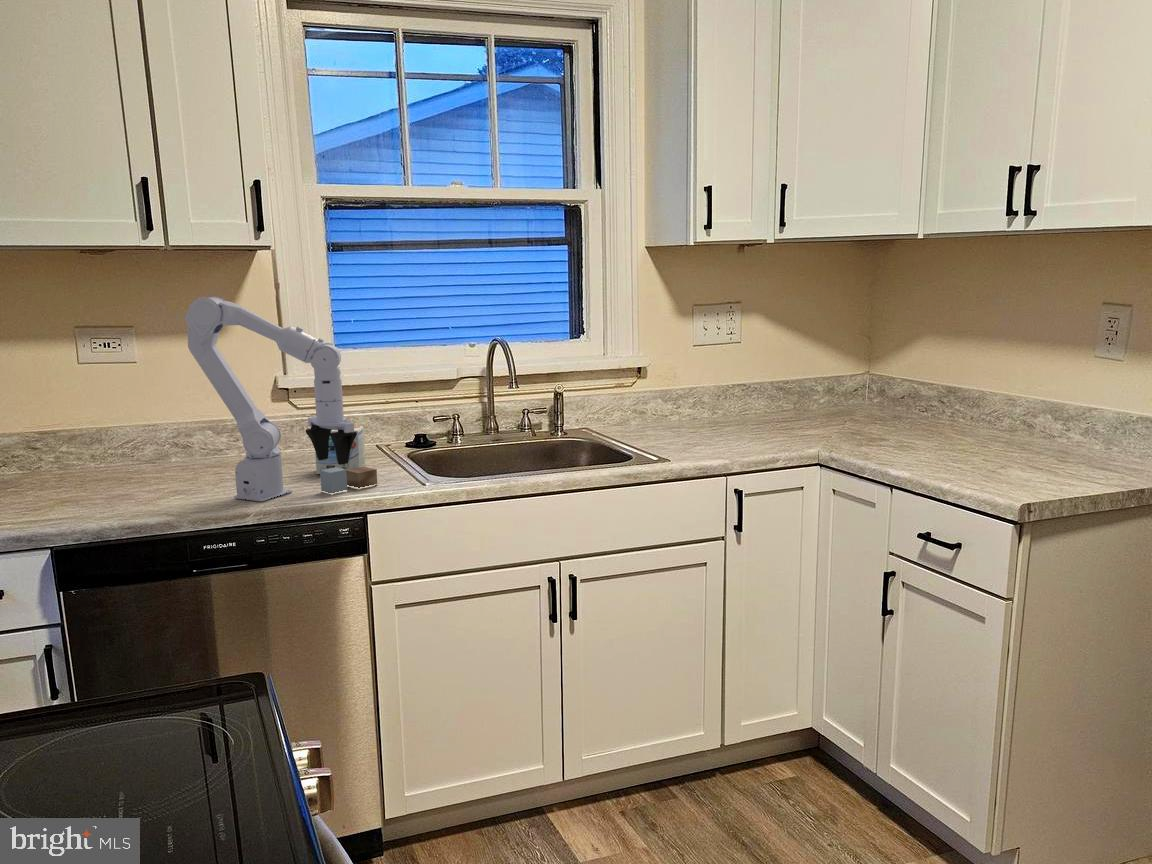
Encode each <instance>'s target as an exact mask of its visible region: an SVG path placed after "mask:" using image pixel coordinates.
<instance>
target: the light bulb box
mask: <svg viewBox="0 0 1152 864" xmlns="http://www.w3.org/2000/svg"><path fill="white" fill-rule="evenodd" d="M354 431H356V432H357V435H356V437H355V439H354V441H353V444H352V446H351V450H350V455H349V460H348V463H347V464H342V465H339V464H338V462H337V457H336V450H335V446H334V443H333V441H332V438H331V436H330V437H329V453H328V459H324V460H318V458H317V455H316V452H315V451H314V452H315V453H314V454H315V469H316V475H317V474H320V470H324V469H330V468H335V467H337V468H341V469H345V470H348V469H353V468H357V467H362V466H364V467H366V454H365V451H366V450H365V432H364V431H365V430H364V425H359V426H358V425H357V426H355V425H354ZM335 432H338V430H331V433H335Z"/></svg>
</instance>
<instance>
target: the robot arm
mask: <svg viewBox="0 0 1152 864" xmlns="http://www.w3.org/2000/svg"><path fill="white" fill-rule="evenodd" d="M185 322H186V325H187V326H186V329H187V332H186V333H187V349H188V350H189V352H190V354H191V355H192V356H193V358H194V359H195V361H196V362H197V364H198V366H199V367H200V368H201V370H202V371H203V373H204V375H205V376H206V377H207V380H209V383H211V385H212V386H213V388H214V390H215V391H216V392H217V394H218V396H219V397H220V399H221V400H222V402H223V403H224V404H225V406H226V408H227V409H228V411H229V412H230V413H231V415H232V417H233V418H234V420H235V423H236V427H237V430H238V432H239V434H240V436H241V438H242V445H243V448H244V450H245V457H244V459H242V460H240V461H239V462H237V464H236V465H235V471H234V474H235V487H236V495H234V497H233V498H234V499H238V500H239V499H240V500H245V499H246V500H247V501H255V502H265V501H268V500H271V498H272V499H275V498H277V496H278V497H281V496H285V495H286V493H287V494H289V493H293V489H289V488H284V479H283V465H282V451H281V450H280V449H279V447H278V445H279V442H280V441H281V437H282V434H281V430H280V428H279V426H278V425H277V424H275V423H274V422H272V421H270V420H269V419H268V418H267V416H266V414H265V413H263V411H262V410H260V409H259V408H258V407H257V405H255V403H254V401H253V400H252V398H251V396H250V394H248V392H247V391H246V389H245V388H244V386H243V384H242V383H241V381H240V380H239V378H238V377H237V375H236V374H235V372H234V371H233V369H232V368H231V366H230V365H229V363H228V361H227V360H226V358H225V357H224V356H223V353H222V352H221V351H220V350H219V347H218V346H217V343H218V339H219V337H220V333H221V331H222V329H223V327H225V326H227V327H228V326H241V327H243V328H245V329H247V330H250V331H252V332H254V333H256V334H258V335H260V336H262V337H265V338H267V339H270V340H271V341H274V342H275V343H276V344H277V347H278V350H279V351H280V352H282V353H285V354H286V355H289V356H291V357H293V358H295V359H297V360H299V361H301V362H302V363H305V364H309V363H310V365H311V366H312V368H313V372H314V380H313V385H314V398H315V399H314V400H315V401H314V402H315V403H314V404H315V416H310V417H307V426H308V427H310V428H308V429H305V433H306V435H307V436H308V438H309V439H310V441H311V444H312V446H313V448H314V452H316V453H315V456H316V455H317V458H318V460H324V459H328V453H329V437H330V436H331V438H332V441H333V443H334V446H335V450H336V457H337V462H338V464H339V465H342V464H347V463H348V460H349V455H350V450H351V446H352V444H353V441H354V439H355V437H356V435H357V432H356V431H354V426H355V422H351V421H349V419H348V418H347V417H344V401H343V399H344V398H343V386H342V384H343V383H342V378H341V374H342V373H341V369H340V368H341V367H340V366H339V365H340V364H341V361H342V353H341V351H340V350H339V349H338V347H336V346H335V345H334V344H333V343H331V342H330V343H329V342H324V341H325V340H324V339H323V338H321V337H319V338H316V337H315V336H312V335H310V334H309V333H306V332H305V331H303V330H304V328H303V327H301V326H296V327H295V326H292V325H290V326H288V327H284V328H283V327H281V326H279V325H277V324H276V323H273V322H271V321H269V320H268V319H267V318H264V317H263V316H260V315H258V314H257V313H255V312H253V311H251V310H250V309H247V308H246V307H243V306H242V305H240V304H237V303H235V302H232V301H228V300H227V301H226V300H225V299H223V298H221V297H219V296H208V297H198V298H197V299H195V300H193V301H192V302H191V303H190V305H189V307H188V310H187V311H186V315H185ZM331 430H338V432H335V433H331ZM280 495H281V496H280ZM274 497H275V498H274Z"/></svg>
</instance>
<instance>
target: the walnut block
mask: <svg viewBox="0 0 1152 864" xmlns="http://www.w3.org/2000/svg"><path fill="white" fill-rule="evenodd" d="M346 474H347V485H349V486H354V487H358V488H360V487H365V486H369V485H374V484H377V485H378V471H377V469H376V468H373V467H369V466H368V467H367V466H365V467H364V466H362V467H357V468H353V469H348V470H346Z"/></svg>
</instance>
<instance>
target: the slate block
mask: <svg viewBox="0 0 1152 864" xmlns="http://www.w3.org/2000/svg"><path fill="white" fill-rule="evenodd" d="M319 476H320V478H319V479H320V490H321V491H325V492H328V493H335V492H339V491H343V490H347V491H348V487H347V474H346V470H345V469H341V468H337V467H335V468H330V469H324V470H320V475H319ZM321 491H320V492H321Z"/></svg>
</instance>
